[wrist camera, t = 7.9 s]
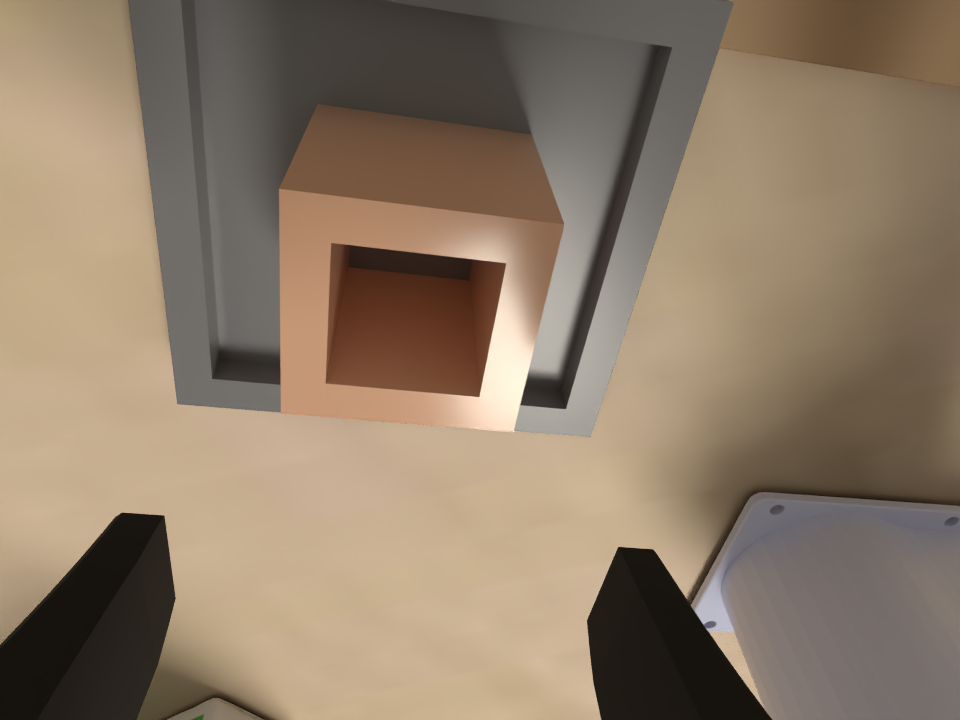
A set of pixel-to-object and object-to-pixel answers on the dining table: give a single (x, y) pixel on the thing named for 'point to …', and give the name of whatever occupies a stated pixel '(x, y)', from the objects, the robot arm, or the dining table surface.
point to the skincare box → (215, 712)
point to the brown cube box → (407, 297)
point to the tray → (425, 95)
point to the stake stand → (854, 35)
